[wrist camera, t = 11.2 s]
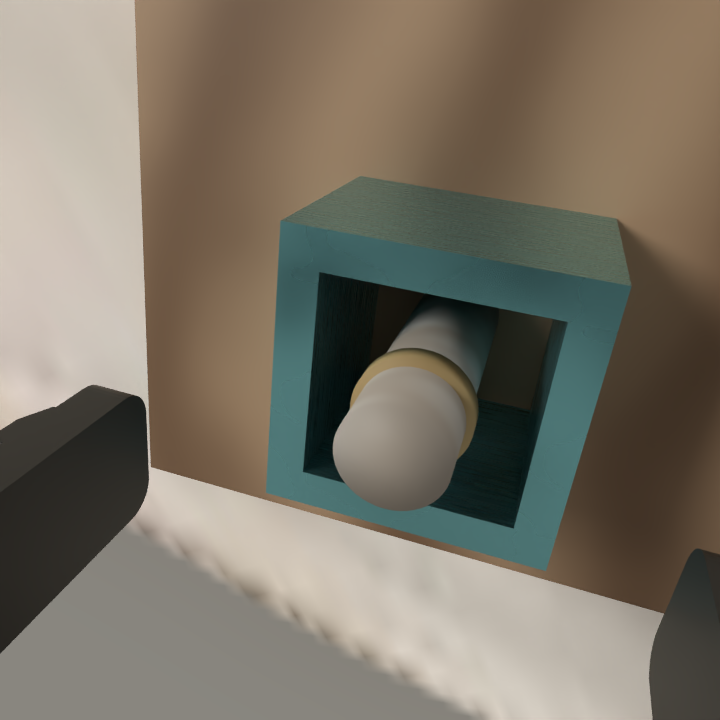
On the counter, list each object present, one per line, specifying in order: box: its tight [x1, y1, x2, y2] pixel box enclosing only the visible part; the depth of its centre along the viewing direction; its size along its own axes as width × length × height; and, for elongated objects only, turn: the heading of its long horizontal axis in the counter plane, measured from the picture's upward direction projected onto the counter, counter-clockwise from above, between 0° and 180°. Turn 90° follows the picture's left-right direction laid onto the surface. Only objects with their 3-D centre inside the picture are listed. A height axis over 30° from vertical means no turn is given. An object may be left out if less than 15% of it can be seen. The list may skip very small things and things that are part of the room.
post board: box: [135, 0, 720, 614], centre depth 15 cm, size 18×15×9 cm
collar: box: [266, 176, 631, 571], centre depth 15 cm, size 6×6×5 cm
